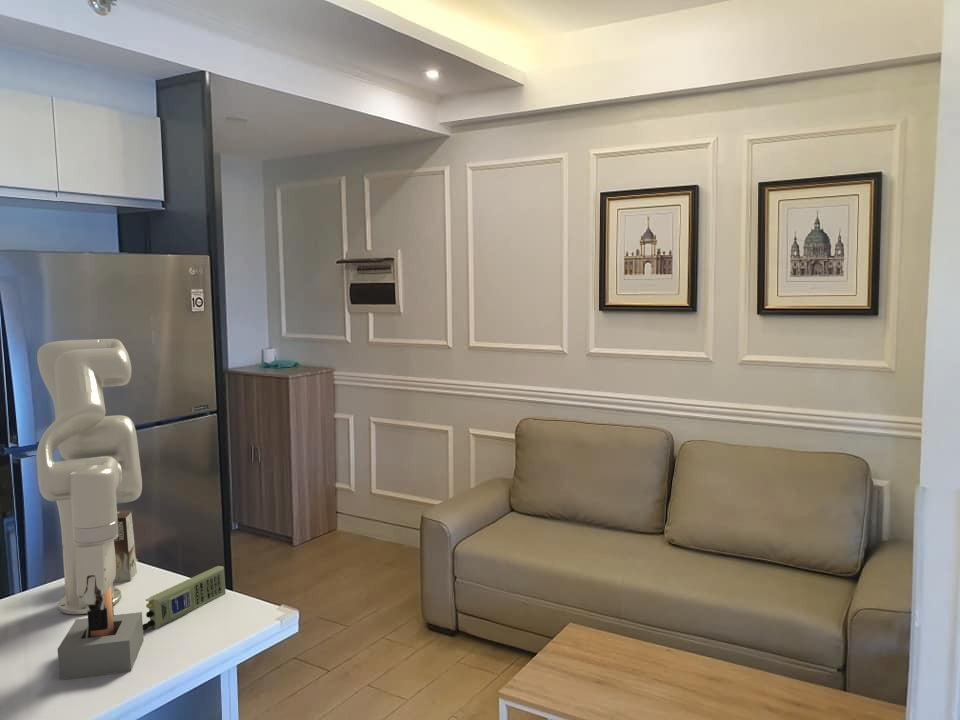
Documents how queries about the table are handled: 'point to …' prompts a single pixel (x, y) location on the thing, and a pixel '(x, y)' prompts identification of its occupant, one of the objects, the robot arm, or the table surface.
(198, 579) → the handheld radio
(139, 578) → the table surface
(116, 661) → the socket block
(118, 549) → the coffee box
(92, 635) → the peg
